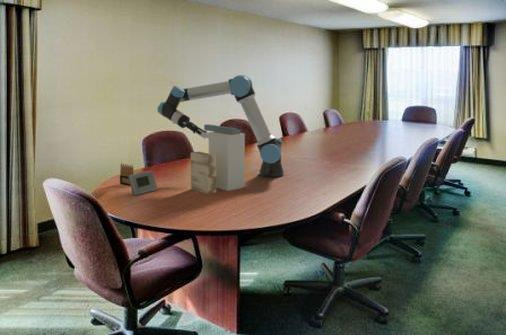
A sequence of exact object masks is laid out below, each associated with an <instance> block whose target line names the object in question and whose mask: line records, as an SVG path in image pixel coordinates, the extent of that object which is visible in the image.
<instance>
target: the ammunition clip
mask: <svg viewBox="0 0 506 335" xmlns="http://www.w3.org/2000/svg"><path fill="white" fill-rule="evenodd" d="M134 170H135V169H134V166H133V165H132V164H127V163H123V162H120V170H119V172H120V173H119V174H120V175H119V184H120V185H123V186H127V187H131V185H130V181H129V175H132V174H135V172H134Z"/></svg>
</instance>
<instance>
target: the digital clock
mask: <svg viewBox="0 0 506 335" xmlns="http://www.w3.org/2000/svg"><path fill="white" fill-rule="evenodd" d="M129 181H130V185H131V186H130V188H131V194H132V195H133V196H135V197H136V196H142V195H145V194H149V193H152V192H154V191H157V190H158V184H157V182H156V178H155V175H154V172H153V170H146V171H141V172H138V173H134V174H132V175H129Z"/></svg>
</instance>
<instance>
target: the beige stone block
mask: <svg viewBox="0 0 506 335" xmlns="http://www.w3.org/2000/svg"><path fill="white" fill-rule="evenodd" d="M190 189H191V190H194V191H197V192H198V193H199V192H200V193H202V194H206V195H209V194H214V193H217V188H216V155H214V154H209V152H203V151H193V152H190Z"/></svg>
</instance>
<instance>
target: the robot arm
mask: <svg viewBox="0 0 506 335" xmlns="http://www.w3.org/2000/svg"><path fill="white" fill-rule="evenodd" d="M225 95H231V96H234V98H235V101H236V103H239V104H240V106H241V107H242V110H243V111H244V114H245V117H246V119H247V120H248V123H249V124H250V127H251V130H252V132H253V134H254V137H255V139H256V140H257V142H256V146H257V149H258V151H259V155H260V159H261V160H262V162H261V165H260V169H259V174H258V175H260V176H262V177H267V178H268V177H269V178H278V177H283V176H284V175H285V174H284V170H283V169H284V168H283V165H282V144H283V142H282V138H279V137H278V138H277V137H275V136H274V135H272V134H271V132H270V130H269V127H268V125H267V123H266V121H265V119H264V116H263V115H262V112H261V110H260V107H259V105H258V103H257V100H256V98H255V96H256V92H255V90H254V87H253V82H252V80H251V78H250V77H249V76H247V75H243V74H239V75H235V76H233V78H229V79H228V80H227V81H221V82H216V83H210V84H204V85H198V86H193V87H187V88H182V87H180V86H177V85H173V86H172V89H170V92H169V94H168V96H167V99H166V100H165V101H162V102H160V103H159V105H158V107H157V109H156V110H157V113H158V114H159V115H161V116H162V117H164V118H165V119H167V120H169V121H170V122H172V124H174V125H177V126H178V127H179V128H180V129H185V128H187V129H189V130H190V131H191V132H192V133H193V134H196V135H198V136H200V137H201V138H202V139H208V140H209V132H208V131H207V130H204V129H202V128H200V127H199V126H198V125H196V124H195V123H194V122H191V121H190V116H187V115H186V114H184V112H183V111H180V110H178V108H179V107H178V106H179V105H180V103H182V102H188V101H194V100H200V99H206V98H212V97H218V96H225Z"/></svg>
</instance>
